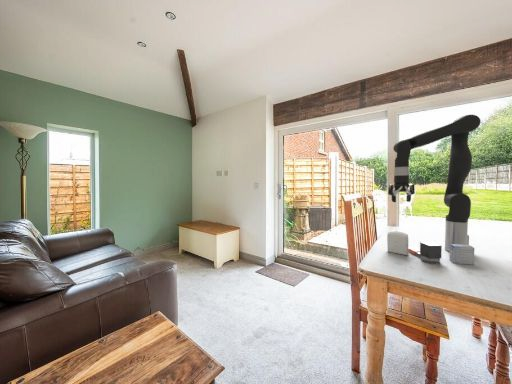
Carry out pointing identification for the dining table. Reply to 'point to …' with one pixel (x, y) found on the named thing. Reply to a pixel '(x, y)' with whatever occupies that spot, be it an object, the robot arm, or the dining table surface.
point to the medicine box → (461, 254)
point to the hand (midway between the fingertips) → (401, 201)
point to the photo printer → (397, 242)
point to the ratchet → (424, 259)
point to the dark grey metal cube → (430, 250)
